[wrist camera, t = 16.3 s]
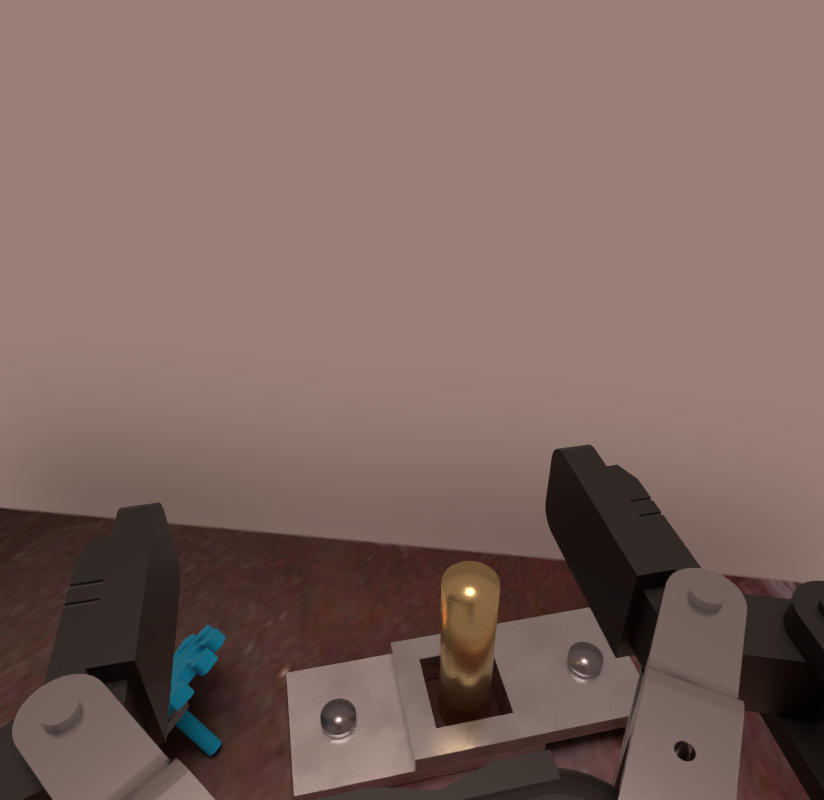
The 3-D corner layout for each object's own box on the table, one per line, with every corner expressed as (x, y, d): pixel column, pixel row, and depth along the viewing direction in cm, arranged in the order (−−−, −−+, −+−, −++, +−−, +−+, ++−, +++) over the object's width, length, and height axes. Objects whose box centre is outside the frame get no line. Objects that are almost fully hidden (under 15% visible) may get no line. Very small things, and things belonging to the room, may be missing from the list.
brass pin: (445, 736, 43) (449, 611, 37) (434, 690, 46) (435, 565, 39) (495, 726, 44) (507, 601, 37) (481, 681, 46) (490, 557, 40)
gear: (179, 623, 49) (230, 610, 41) (239, 680, 50) (300, 677, 42) (47, 771, 42) (79, 788, 34) (120, 833, 43) (166, 863, 35)
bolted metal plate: (296, 806, 40) (290, 780, 38) (288, 683, 46) (283, 656, 45) (650, 731, 44) (659, 704, 42) (597, 627, 50) (603, 599, 48)
